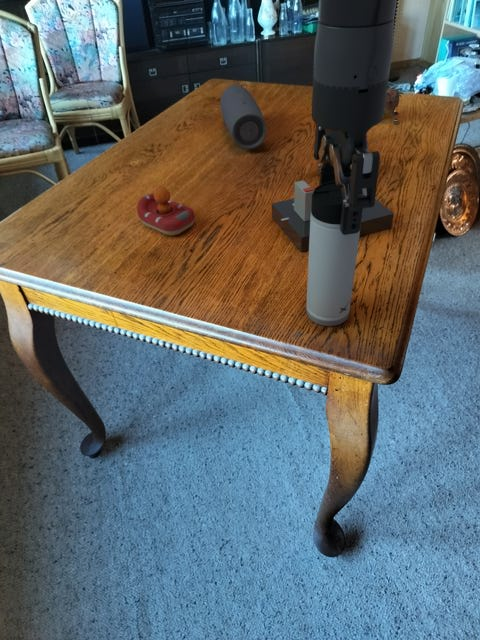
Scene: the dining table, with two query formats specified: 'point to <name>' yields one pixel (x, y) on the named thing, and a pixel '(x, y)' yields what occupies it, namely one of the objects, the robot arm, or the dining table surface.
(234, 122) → the bluetooth speaker
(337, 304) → the travel mug
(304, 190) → the grey rectangular block
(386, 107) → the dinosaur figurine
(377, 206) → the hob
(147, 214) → the toy boat
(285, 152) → the dining table surface
